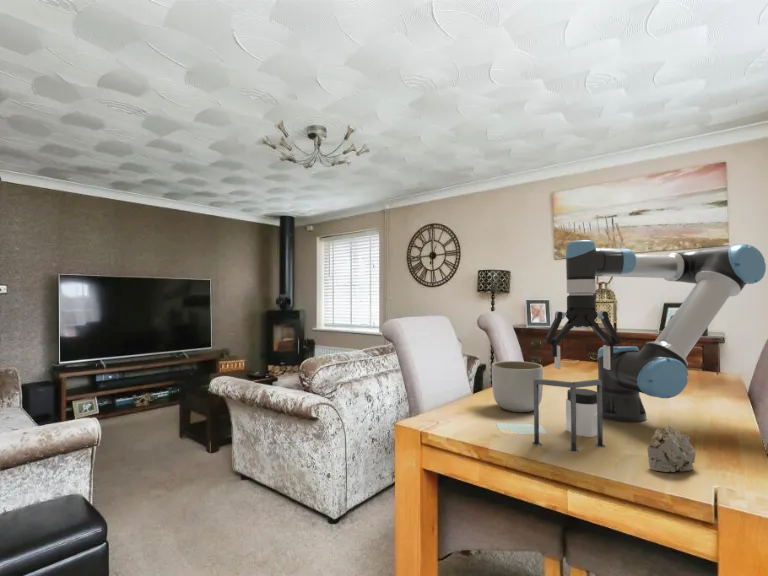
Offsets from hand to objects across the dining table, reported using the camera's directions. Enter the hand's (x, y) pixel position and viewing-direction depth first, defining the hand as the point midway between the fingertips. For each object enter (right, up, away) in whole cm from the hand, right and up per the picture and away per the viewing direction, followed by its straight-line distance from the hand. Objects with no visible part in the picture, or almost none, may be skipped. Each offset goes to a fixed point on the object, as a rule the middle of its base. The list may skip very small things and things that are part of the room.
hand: (582, 368), depth 116 cm
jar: (0, -19, 0) cm, 19 cm away
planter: (-10, -19, +25) cm, 33 cm away
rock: (+8, -18, -27) cm, 34 cm away
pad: (-17, -19, +1) cm, 25 cm away
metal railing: (-9, -18, -12) cm, 24 cm away
